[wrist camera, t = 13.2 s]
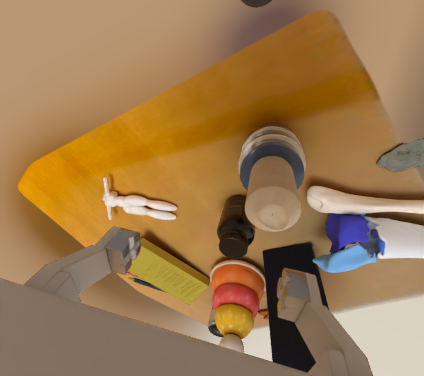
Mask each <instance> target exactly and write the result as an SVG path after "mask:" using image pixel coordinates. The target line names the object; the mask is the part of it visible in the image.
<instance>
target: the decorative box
mask: <svg viewBox="0 0 424 376" xmlns="http://www.w3.org/2000/svg"><path fill="white" fill-rule="evenodd" d="M263 259H264V270H265V282H266V293H267V304H268V315H269V327H270V338H271V347H272V348H271V349H272V360H273V362H274V363H277V364H281V365H284V366H287V367H290V368H294V369H297V370H300V371H303V372H307V373H308V372H309V371H310V370H311V368H312V367H313V366H314V365H315V364H316V361H315V359H314V358H313V356H312V354H311V352H310V350H309V348H308V346H307V345H306V343H305V341H304V339H303V337H302V335H301V334H300V332H299V330H298V328H297V326H296V324H295V322H292V321H289V320H285V319H282V318H279V317H278V309H277V304H278V302H279V298H278V297H277V285H278V281H279V278H280V277H282V271H283V269H284V268H288V269H292V270H296V271H301V272H304V273H309V274H313V275H315V276H316V279H317V283H318V288H319V292H320V296H321V301H322V305H323V306H326V307H327V308H328V304H327V300H326V296H325V292H324V288H323V285H322V281H321V277H320V273H319V269H318V265H317V264H315V263H314V262H313V261H312V260H313V259H315V254H314V250H313V246H312V244H306V245H299V246H293V247H287V248H280V249H274V250H268V251H263ZM328 310H329V308H328Z"/></svg>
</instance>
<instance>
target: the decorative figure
mask: <svg viewBox="0 0 424 376" xmlns="http://www.w3.org/2000/svg"><path fill="white" fill-rule="evenodd" d="M104 189H105V194H104V197H105V198H102V200H103V201H105V205H106V206H107V209H108V217H109V220H112V219H113V217H112V211H111V207H115V206H117V205H118V206H120V207H124V211H125V212H127V213H133V214H136V215H146V214H147V215H148V216H151V217H153V218H157V219H163V220H174V219H176V216H175V215H174V214H172V213H170V212H166V211H174V210H176V209H177V207H176V206H175V205H173V204H171V203H167V202H163V201H156V200H147V199H146V198H144V197H141V196H137V195H129V196H126V197H123V196H118V197H117V195H118V194H117V192H116V191H112V192H110V193H109V188H108V179H107V177H104ZM145 205H147V206H149V207H151V208H154V209H158V210H151V209H147V208H145V207H143V206H145ZM161 210H163V211H161Z"/></svg>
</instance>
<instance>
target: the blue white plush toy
mask: <svg viewBox="0 0 424 376" xmlns="http://www.w3.org/2000/svg"><path fill="white" fill-rule="evenodd" d="M307 201H308V204H309V205H310V206H311V207H312V208H313V209H315V210H316V211H319V212H321V213H329V218H328V221H327V222H326V232H327V236H328V238H329V239H330V240H331V241H332V246H331V250H330V252H332V253H331V254H330V255H322V256H320V257H317V258H315V259H313V260H312V261H313V262H314V263H315V264H317V265H318V266H319V267H320V268H321V269H323V270H324V271H327V272H329V273H339V272H345V271H350V270H352V269H356V268H358V267H360V266H362V265H364V264H368V263H375V262H377V260H376V259H375V257H377V258H380V259H386V258H424V226H423V225H418V224H412V223H408V222H401V221H396V220H391V219H389V218H373V217H363V216H364V215H366V213H375V212H407V213H419V214H424V200H393V199H385V198H374V197H365V196H358V195H352V194H346V193H343V192H340V191H337V190H333V189H330V188H326V187H322V186H311V187H310V188H309V189H308V190H307ZM356 242H359V244H360V245H354V246H352V247H349V248H346V249H344V248H345V246H346V245H347V244H355V243H356ZM369 255H372V257H370V256H369Z"/></svg>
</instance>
